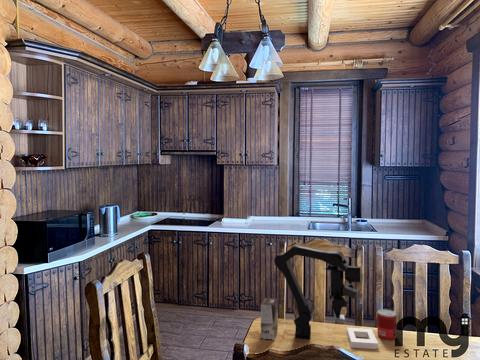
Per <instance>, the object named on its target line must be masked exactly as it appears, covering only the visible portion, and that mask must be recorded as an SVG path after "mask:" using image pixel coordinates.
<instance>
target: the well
mask: <svg viewBox="0 0 480 360" xmlns="http://www.w3.org/2000/svg"><path fill="white" fill-rule="evenodd" d="M372 329H373V328H362V327H361V328H360V327H346V334H347V338H348V341H349V344H350V347H351V348H353V349H354V348H355V349H356V348H357V349H368V350H370V349H371V350H379V342H378V340H377V338H376V336H375V334H374V331H373V330H372Z"/></svg>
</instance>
